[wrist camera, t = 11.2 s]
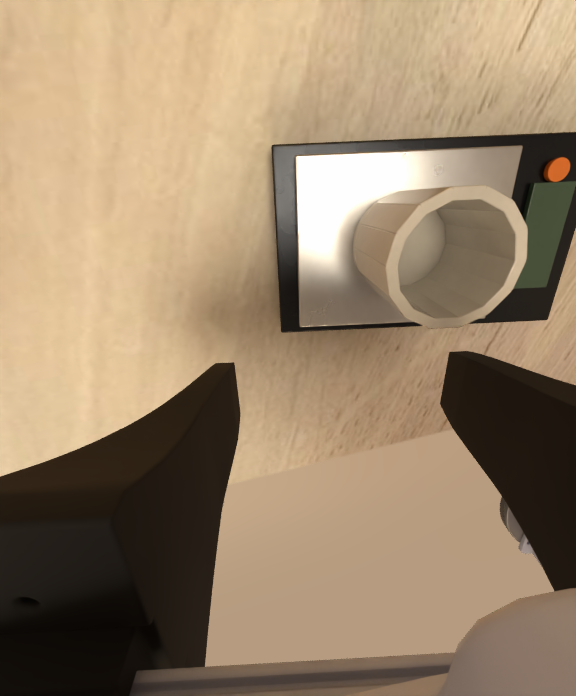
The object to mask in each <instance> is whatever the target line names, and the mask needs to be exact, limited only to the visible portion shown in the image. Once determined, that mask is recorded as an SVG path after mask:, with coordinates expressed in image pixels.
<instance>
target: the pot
mask: <svg viewBox="0 0 576 696" xmlns="http://www.w3.org/2000/svg"><path fill="white" fill-rule="evenodd" d="M527 240H528V228H527V225H526V223H525V221H524V219H523V217H522V215H521V213H520V211H519V209H518V207H517V205H516V203H515V202H514V201H513V200H512V199H511V198H509V197H507V196H505V195H504V194H502V193H500V192H498V191H496V190H495V189H493V188H491V187H489V186H486V185H472V186H451V187H440V188H428V189H417V190H405V191H398V192H396V193H392V194H389V195H387V196H385V197H383V198H381V199H379V200H378V201H377V202H375V203H374V204H373V205H372V206H371V207H370V208H369V209H368V210H367V211H366V212H365V214H364V215H363V216H362V218H361V220H360V221H359V223H358V225H357V228H356V231H355V234H354V238H353V258H354V262H355V265H356V267H357V269H358V271H359V273H360V274H361V276H362V277H363V278H364V279H365V280H366V281H367V282H368V284H369V285H370V286H371V287H372V288H373V289H374V290H376V291H377V292H378V293H379V294H380V295H381V296H382V297H383V298H384V299H385V300H387V301H388V302H389V303H390V304H391V305H392V306H393V307H394V308H395V309H396V310H398V311H399V312H400V313H401V314H402V315H403V316H404V317H406V318H407V319H409V320H411V321H413V322H416V323H418V324H420V325H423V326H425V327H427V328H431V329H437V328H458V327H462V326H464V325H466V324H468V323H470V322H473V321H475V320H477V319H479V318H481V317H483V316H486V315H487V314H489V313H490V312H491V311H492V310H493V309H494V308H495V307H496V306H497V305H498V304H499V303H500V302H501V301H502V300H503V299H504V298H505V297H506V296H507V295H508V294H509V293H510V292H511V290H513V288H514V286H515V284H516V282H517V280H518V278H519V275H520V273H521V271H522V269H523V267H524V265H525V263H526V260H527Z"/></svg>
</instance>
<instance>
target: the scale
mask: <svg viewBox="0 0 576 696" xmlns="http://www.w3.org/2000/svg"><path fill="white" fill-rule="evenodd" d="M272 164H273V184H274V203H275V222H276V241H277V260H278V280H279V299H280V318H281V332H283V333H284V332H305V331H326V330H347V329H368V328H389V327H410V326H423V325H420V324H418V323H416V322H413V321H411V320H409V319H407V318H406V317H404V316H403V315H402V314H401V313H400V312H399V311H398V310H396V309H395V308H394V307H393V306H392V305H391V304H390V303H389V302H388V301H387V300H385V299H384V298H383V297H382V296H381V295H380V294H379V293H378V292H377V291H376V290H374V289H373V288H372V287H371V286H370V285H369V284H368V282H367V281H366V280H365V279H364V278H363V277H362V276H361V274H360V273H359V271H358V269H357V267H356V265H355V262H354V258H353V238H354V234H355V231H356V228H357V225H358V223H359V221H360V220H361V218H362V216H363V215H364V214H365V212H366V211H367V210H368V209H369V208H370V207H371V206H372V205H373V204H374V203H375V202H377V201H378V200H379V199H381V198H383V197H385V196H387V195H389V194H392V193H396V192H398V191H405V190H417V189H428V188H440V187H451V186H472V185H486V186H489V187H491V188H493V189H495V190H496V191H498V192H500V193H502V194H504V195H505V196H507V197H509V198H511V199H512V200H513V201H514V202H515V203H516V205H517V207H518V209H519V211H520V213H521V215H522V217H523V219H524V221H525V223H526V225H527V228H528V240H527V260H526V263H525V265H524V267H523V269H522V271H521V273H520V275H519V278H518V280H517V282H516V284H515V286H514V288H513V290H511V292H510V293H509V294H508V295H507V296H506V297H505V298H504V299H503V300H502V301H501V302H500V303H499V304H498V305H497V306H496V307H495V308H494V309H493V310H492V311H491V312H490V313H489V314H487V315H486V316H483V317H481V318H479V319H477V320H475V321H473V322H470V323H468V324H473V323H494V322H515V321H536V320H547V319H548V316H549V313H550V310H551V307H552V303H553V300H554V297H555V293H556V290H557V287H558V284H559V280H560V277H561V274H562V271H563V267H564V264H565V261H566V257H567V254H568V251H569V248H570V244H571V241H572V238H573V234H574V231H575V228H576V132H564V133H540V134H516V135H492V136H469V137H445V138H421V139H398V140H374V141H350V142H326V143H303V144H279V145H272Z"/></svg>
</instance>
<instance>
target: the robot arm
mask: <svg viewBox="0 0 576 696" xmlns="http://www.w3.org/2000/svg"><path fill="white" fill-rule="evenodd" d="M440 405H441V407H442V409H443V411H444V413H445V415H446V417H447V419H448V420H449V422H450V424H451V426H452V428H453V429H454V431H455V432H456V433H457V435H458V436H459V438H460V439H461V440H462V442H463V443H464V445H465V446H466V447H467V449H468V450H469V451H470V453H471V454H472V455H473V457H474V458H475V459H476V461H477V462H478V463H479V465H480V466H481V468H482V469H483V470H484V472H485V473H486V474H487V476H488V477H489V478H490V479H491V481H492V482H493V484H494V485H495V487H496V488H497V489H498V491H499V492H500V494H501V495H502V497H503V498H504V500H505V502H506V503H507V505H508V507H509V509H510V510H511V512H512V514H513V515H514V517H515V519H516V520H517V522H518V524H519V525H520V527H521V529H522V531H523V532H524V534H523V537H522V539H521V542H520V545H519V549H520V551H521V552H522V553H525V554H527V553H532V554H533V555H534V556H535V558H536V559H537V560H538V562H539V563H540V565H541V566H542V567H543V569H544V571H545V573H546V575H547V577H548V579H549V581H550V583H551V585H552V587H553V589H554V592H550V593H545V594H540V595H535V596H530V597H525V598H520V599H517V600H516V601H513V602H511V603H510V604H508V605H506V606H504V607H502V608H500V609H498V610H496V611H494V612H492V613H490V614H488V615H487V616H485V617H483V618H481V619H479V620H478V621H477V622H476V623H475V625H474V626H473V627H472V628H471V629H470V631H469V632H468V633H467V634H466V635H465V637H464V638H463V639H462V641H461V642H460V643H459V644H458V646H457V649H456V652H455V653H439V654H422V655H404V656H387V657H370V658H352V659H337V660H336V659H334V660H319V661H318V660H317V661H301V662H300V661H299V662H282V663H267V664H266V663H264V664H247V665H230V666H212V667H205V658H206V647H207V635H208V625H209V616H210V606H211V596H212V586H213V577H214V568H215V560H216V551H217V543H218V535H219V527H220V519H221V512H222V507H223V502H224V497H225V492H226V488H227V484H228V480H229V476H230V472H231V467H232V463H233V459H234V455H235V450H236V446H237V441H238V434H239V424H240V406H239V398H238V390H237V381H236V373H235V365H234V363H216V364H214V365H213V366H212V367H210V368H209V369H208V370H207V371H205V372H204V373H203V374H202V375H201V376H199V377H198V378H197V379H196V380H195V381H193V382H192V383H191V384H190V385H188V386H187V387H186V388H185V389H183V390H182V391H181V392H179V393H178V394H177V395H175V396H174V397H173V398H171V399H170V400H168V401H167V402H166V403H164V404H163V405H161V406H160V407H158V408H157V409H155V410H154V411H152V412H151V413H149V414H147V415H146V416H144V417H142V418H141V419H139V420H137V421H135V422H134V423H132V424H130V425H128V426H126V427H124V428H122V429H120V430H118V431H116V432H114V433H112V434H110V435H108V436H106V437H104V438H102V439H100V440H98V441H96V442H93V443H91V444H89V445H86V446H84V447H82V448H79V449H77V450H75V451H72V452H70V453H67V454H64V455H62V456H59V457H57V458H54V459H51V460H49V461H46V462H43V463H40V464H38V465H34V466H31V467H28V468H25V469H22V470H19V471H16V472H13V473H10V474H7V475H4V476H1V477H0V696H576V386H575V385H572V384H569V383H566V382H562V381H559V380H556V379H553V378H550V377H547V376H544V375H541V374H538V373H535V372H532V371H529V370H526V369H523V368H521V367H518V366H515V365H512V364H509V363H506V362H503V361H500V360H498V359H495V358H492V357H488V356H485V355H482V354H478V353H474V352H469V351H461V352H449V357H448V363H447V368H446V374H445V379H444V385H443V390H442V396H441V401H440Z"/></svg>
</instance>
